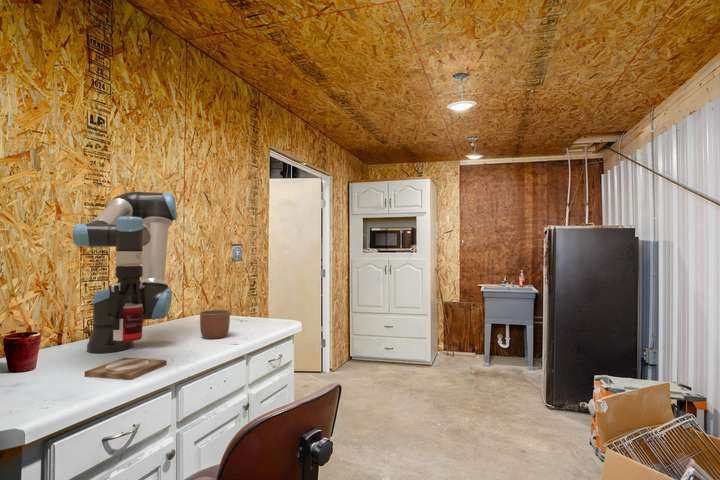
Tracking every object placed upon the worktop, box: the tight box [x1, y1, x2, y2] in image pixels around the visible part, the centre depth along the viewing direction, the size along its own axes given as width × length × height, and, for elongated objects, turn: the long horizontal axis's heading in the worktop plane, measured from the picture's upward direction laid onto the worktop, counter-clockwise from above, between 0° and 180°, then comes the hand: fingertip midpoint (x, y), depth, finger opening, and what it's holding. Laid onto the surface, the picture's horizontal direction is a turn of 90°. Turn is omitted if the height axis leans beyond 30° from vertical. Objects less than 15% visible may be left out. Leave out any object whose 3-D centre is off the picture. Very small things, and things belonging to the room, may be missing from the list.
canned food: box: [115, 303, 144, 342], centre depth 129 cm, size 8×8×11 cm
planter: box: [199, 309, 231, 340], centre depth 178 cm, size 12×12×11 cm
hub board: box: [84, 357, 168, 381], centre depth 129 cm, size 16×16×2 cm
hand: (128, 337), depth 129 cm, fingers closed on canned food, 8 cm apart
